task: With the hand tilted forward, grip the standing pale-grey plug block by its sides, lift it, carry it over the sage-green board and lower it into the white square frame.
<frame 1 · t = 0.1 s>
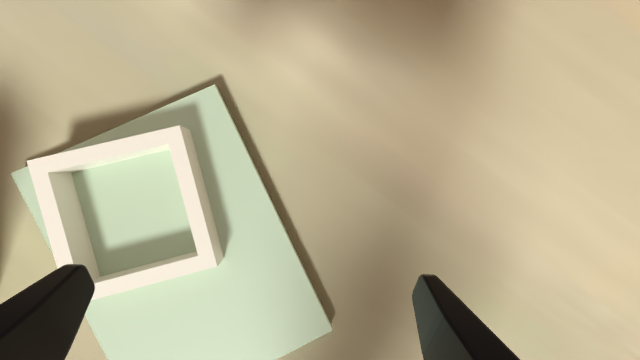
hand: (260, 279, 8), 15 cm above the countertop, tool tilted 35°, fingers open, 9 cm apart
board: (184, 252, 23), on the countertop
white square frame: (147, 209, 22), resting on board
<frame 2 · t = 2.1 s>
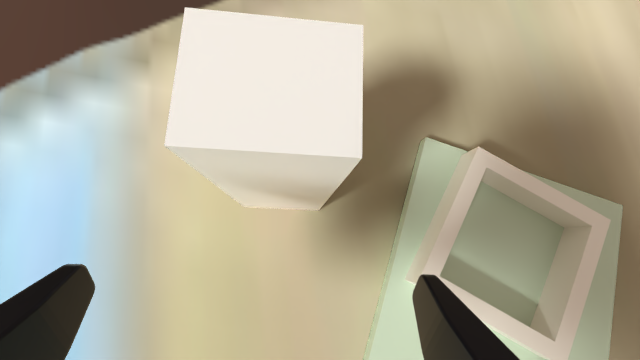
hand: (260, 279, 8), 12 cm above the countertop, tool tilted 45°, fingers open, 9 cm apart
plug: (283, 179, 21), on the countertop
board: (490, 312, 20), on the countertop
white square frame: (487, 249, 21), resting on board
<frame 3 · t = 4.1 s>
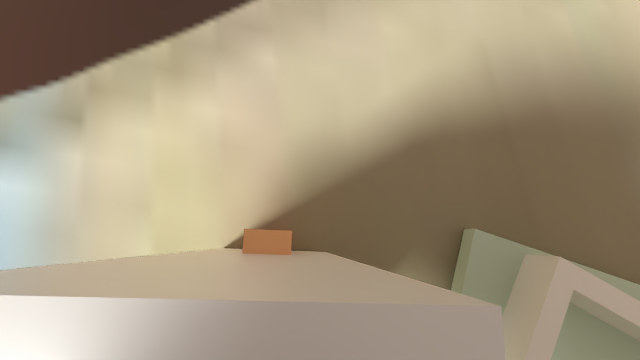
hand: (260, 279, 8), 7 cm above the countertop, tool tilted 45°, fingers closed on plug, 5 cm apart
plug: (272, 292, 15), on the countertop, touching gripper
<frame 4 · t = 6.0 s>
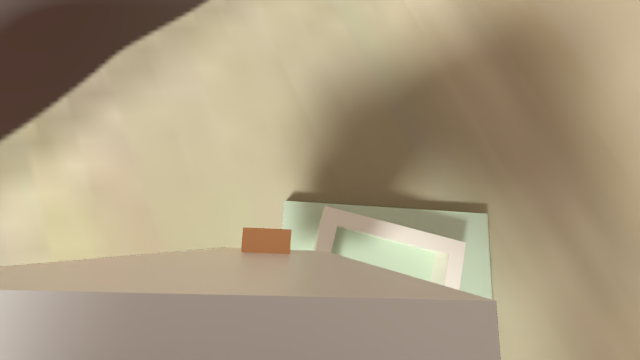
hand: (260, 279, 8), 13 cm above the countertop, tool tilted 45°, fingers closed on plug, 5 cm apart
plug: (271, 291, 15), point 7 cm above the countertop, touching gripper
board: (382, 353, 21), on the countertop
white square frame: (369, 291, 22), resting on board
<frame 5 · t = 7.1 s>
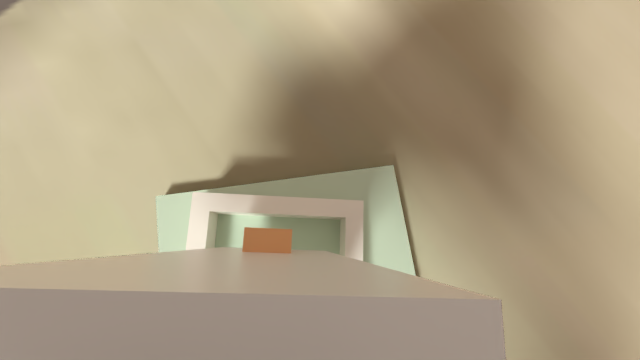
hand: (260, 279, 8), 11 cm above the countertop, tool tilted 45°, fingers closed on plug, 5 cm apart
plug: (272, 291, 15), point 5 cm above the countertop, touching gripper
board: (301, 343, 18), on the countertop
white square frame: (276, 278, 19), resting on board
when the fingers open (9 cm above the countertop, at t = 7.8 s): plug drops 2 cm, resting on board.
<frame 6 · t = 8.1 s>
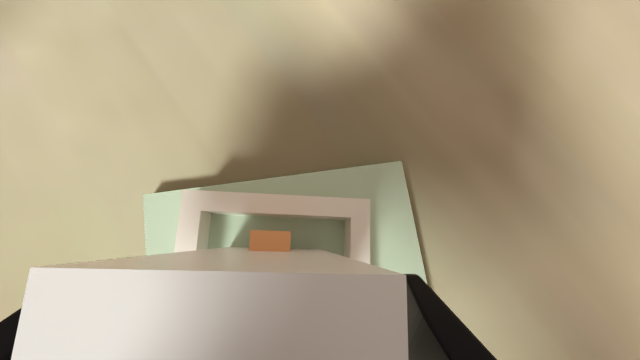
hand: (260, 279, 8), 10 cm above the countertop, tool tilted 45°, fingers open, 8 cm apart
plug: (273, 285, 16), point 1 cm above the countertop, touching board
board: (302, 355, 17), on the countertop
white square frame: (275, 283, 17), resting on board
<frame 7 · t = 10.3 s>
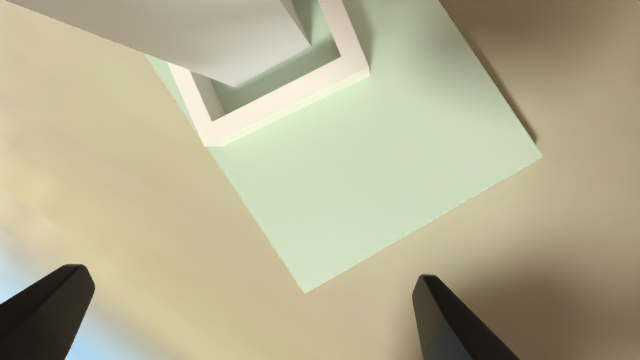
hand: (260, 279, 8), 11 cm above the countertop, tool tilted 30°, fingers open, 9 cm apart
plug: (257, 34, 17), point 1 cm above the countertop, touching board
board: (315, 86, 18), on the countertop
white square frame: (264, 40, 18), resting on board
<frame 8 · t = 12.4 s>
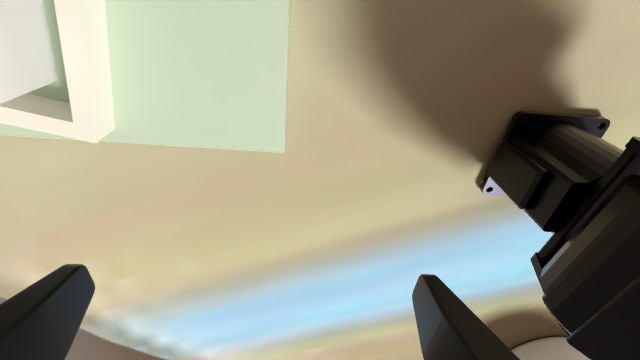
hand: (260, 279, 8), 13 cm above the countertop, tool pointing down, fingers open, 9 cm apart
plug: (3, 20, 15), point 1 cm above the countertop, touching board
board: (94, 3, 16), on the countertop
mug: (543, 358, 39), on the countertop
white square frame: (20, 17, 16), resting on board
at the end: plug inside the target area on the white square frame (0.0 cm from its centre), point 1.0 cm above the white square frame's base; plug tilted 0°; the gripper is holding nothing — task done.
